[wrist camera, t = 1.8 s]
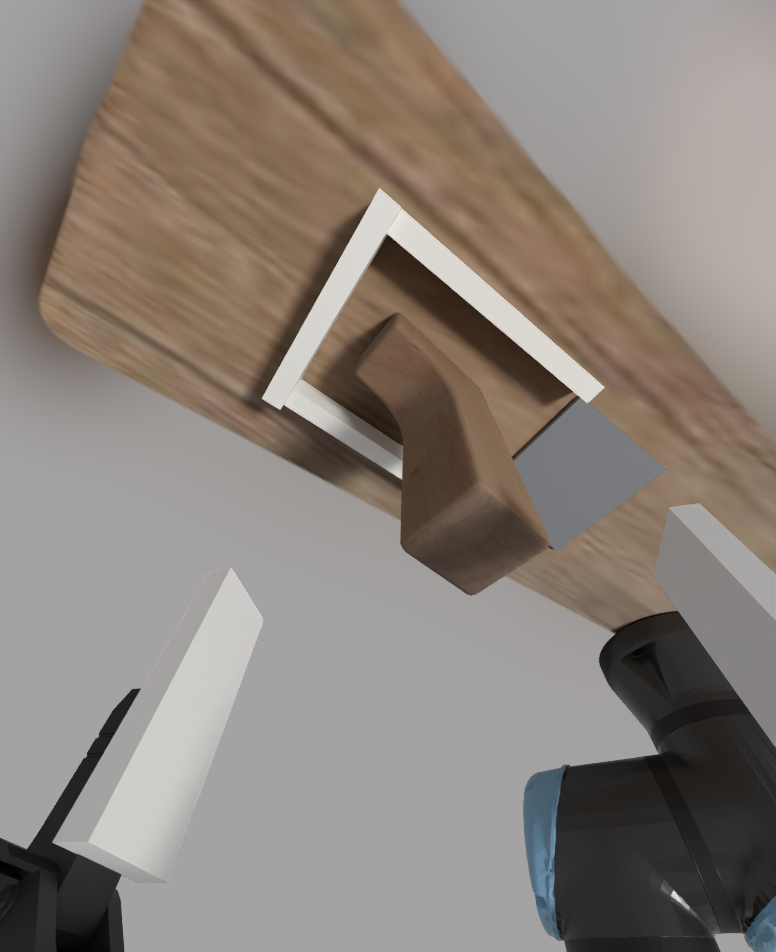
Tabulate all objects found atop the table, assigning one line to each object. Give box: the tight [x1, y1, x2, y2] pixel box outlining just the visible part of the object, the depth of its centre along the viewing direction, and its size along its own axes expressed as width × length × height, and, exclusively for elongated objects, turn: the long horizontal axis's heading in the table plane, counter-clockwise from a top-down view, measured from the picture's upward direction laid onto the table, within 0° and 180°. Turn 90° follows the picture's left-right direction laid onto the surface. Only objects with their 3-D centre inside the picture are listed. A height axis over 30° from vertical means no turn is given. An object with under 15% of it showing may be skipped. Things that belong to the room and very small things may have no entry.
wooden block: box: [354, 313, 550, 595], centre depth 22 cm, size 9×4×18 cm, turn 49°
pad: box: [513, 396, 667, 551], centre depth 34 cm, size 11×12×1 cm
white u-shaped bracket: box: [262, 188, 605, 479], centre depth 28 cm, size 20×15×4 cm
